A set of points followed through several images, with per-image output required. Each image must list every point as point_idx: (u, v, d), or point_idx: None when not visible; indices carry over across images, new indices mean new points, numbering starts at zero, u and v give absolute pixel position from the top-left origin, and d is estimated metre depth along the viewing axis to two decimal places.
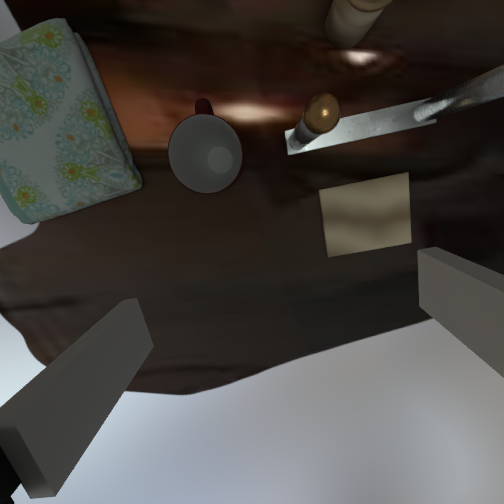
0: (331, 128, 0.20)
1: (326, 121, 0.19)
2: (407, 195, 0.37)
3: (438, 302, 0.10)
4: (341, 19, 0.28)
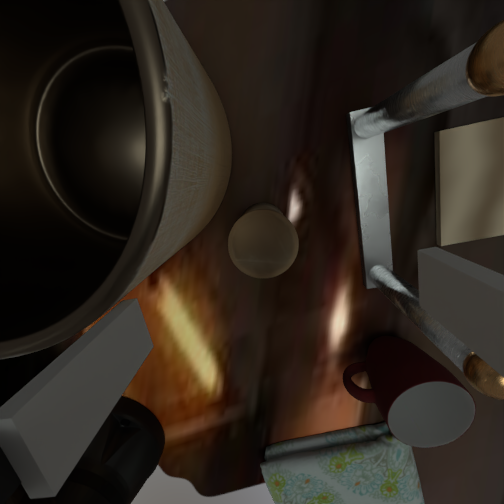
0: None
1: None
2: (472, 125, 0.26)
3: (438, 302, 0.10)
4: None
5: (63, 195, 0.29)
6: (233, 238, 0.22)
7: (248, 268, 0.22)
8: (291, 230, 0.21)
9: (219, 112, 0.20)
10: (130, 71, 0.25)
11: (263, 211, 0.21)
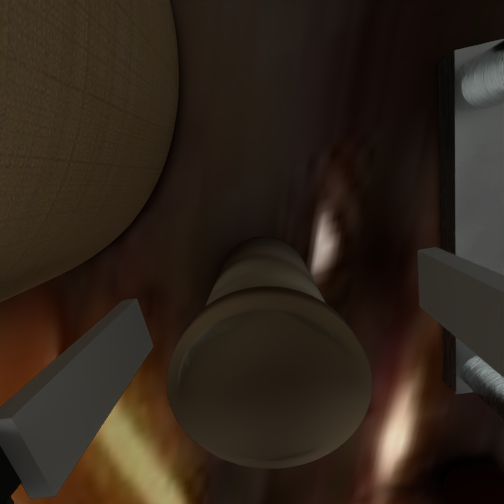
0: None
1: None
2: None
3: (438, 302, 0.10)
4: None
5: None
6: (181, 373, 0.07)
7: (227, 445, 0.08)
8: (353, 354, 0.07)
9: None
10: None
11: (270, 302, 0.07)
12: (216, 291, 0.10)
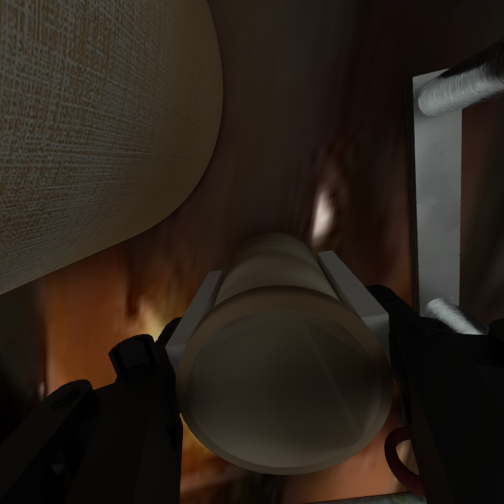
0: None
1: None
2: None
3: None
4: None
5: None
6: (191, 376, 0.07)
7: (238, 450, 0.08)
8: (374, 358, 0.07)
9: None
10: None
11: (285, 302, 0.06)
12: (226, 289, 0.09)
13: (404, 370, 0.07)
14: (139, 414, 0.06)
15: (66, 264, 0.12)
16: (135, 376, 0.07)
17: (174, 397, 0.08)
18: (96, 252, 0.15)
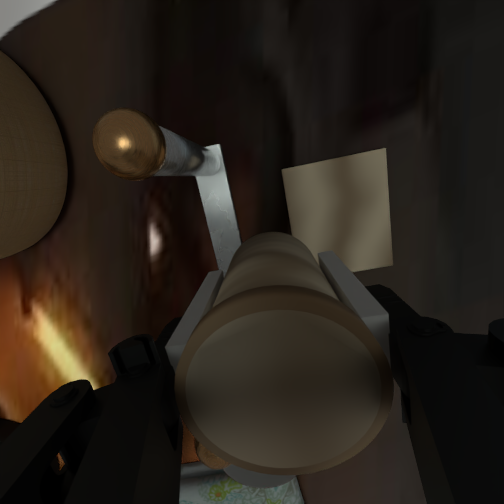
0: None
1: None
2: (313, 164, 0.26)
3: None
4: None
5: None
6: (190, 376, 0.07)
7: (238, 451, 0.08)
8: (373, 358, 0.07)
9: None
10: None
11: (285, 303, 0.06)
12: (225, 289, 0.09)
13: (404, 370, 0.07)
14: (139, 414, 0.06)
15: None
16: (135, 376, 0.07)
17: (173, 398, 0.08)
18: None
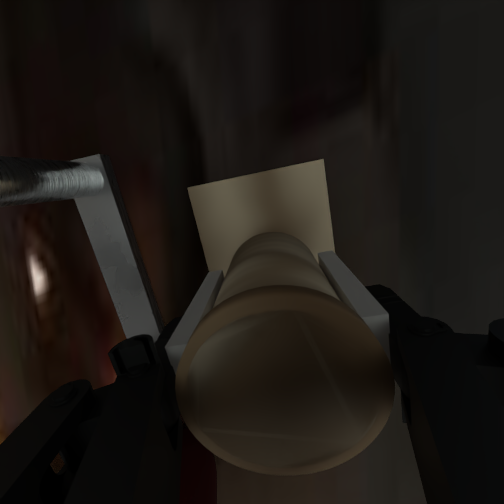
0: None
1: None
2: (229, 181, 0.19)
3: None
4: None
5: None
6: (191, 376, 0.07)
7: (238, 451, 0.08)
8: (375, 359, 0.07)
9: None
10: None
11: (286, 302, 0.06)
12: (226, 289, 0.09)
13: (404, 370, 0.07)
14: (139, 414, 0.06)
15: None
16: (135, 376, 0.07)
17: (174, 398, 0.08)
18: None
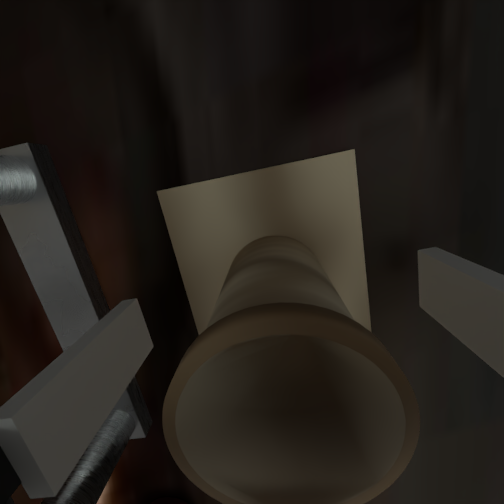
0: None
1: None
2: (216, 182, 0.13)
3: (438, 302, 0.10)
4: None
5: None
6: (180, 409, 0.06)
7: (236, 493, 0.07)
8: (397, 392, 0.06)
9: None
10: None
11: (292, 326, 0.05)
12: (223, 302, 0.08)
13: None
14: None
15: None
16: None
17: None
18: None
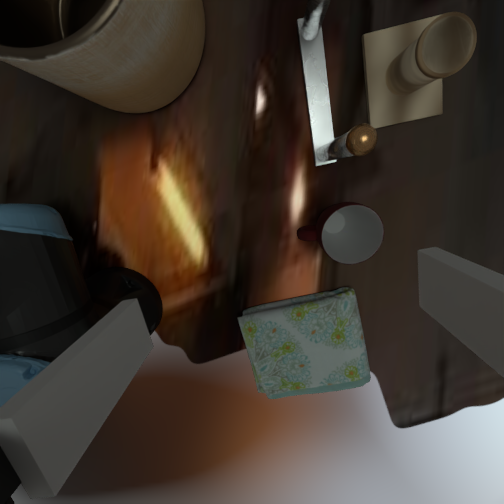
0: (375, 131, 0.24)
1: (373, 136, 0.24)
2: (387, 29, 0.35)
3: (438, 302, 0.10)
4: None
5: None
6: (425, 39, 0.28)
7: (431, 67, 0.29)
8: (472, 30, 0.28)
9: None
10: None
11: (453, 13, 0.27)
12: None
13: None
14: None
15: (139, 80, 0.30)
16: None
17: None
18: (146, 90, 0.32)
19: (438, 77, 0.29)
